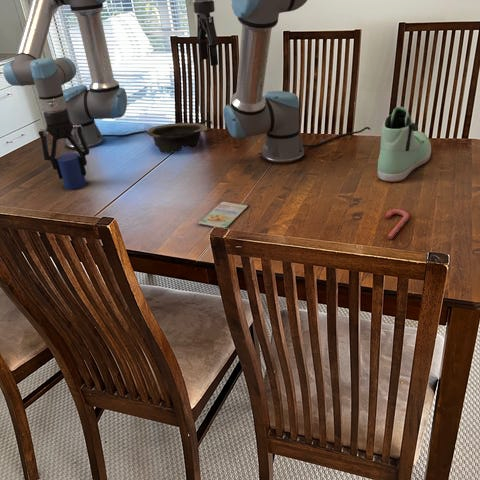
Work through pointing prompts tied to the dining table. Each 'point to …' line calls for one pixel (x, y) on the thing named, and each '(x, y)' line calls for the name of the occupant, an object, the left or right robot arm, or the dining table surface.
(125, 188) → the dining table surface
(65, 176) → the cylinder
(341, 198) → the dining table surface
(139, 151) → the dining table surface
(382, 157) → the sneaker
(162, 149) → the stone bowl
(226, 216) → the baking ingredient package
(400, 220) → the candy cane
